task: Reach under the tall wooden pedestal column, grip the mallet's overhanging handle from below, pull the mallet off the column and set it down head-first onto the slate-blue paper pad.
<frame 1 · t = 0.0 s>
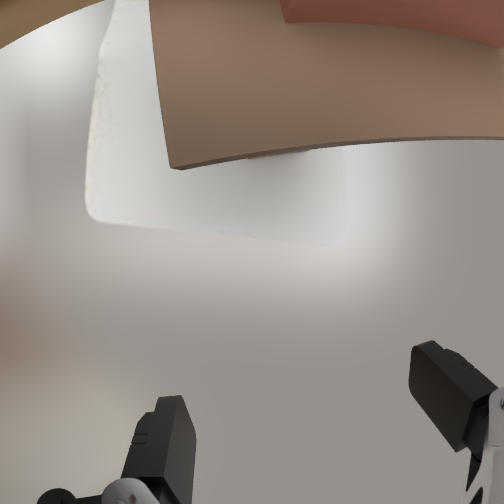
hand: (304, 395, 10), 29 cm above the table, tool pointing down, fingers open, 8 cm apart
wooden pedestal column: (246, 125, 35), on the table
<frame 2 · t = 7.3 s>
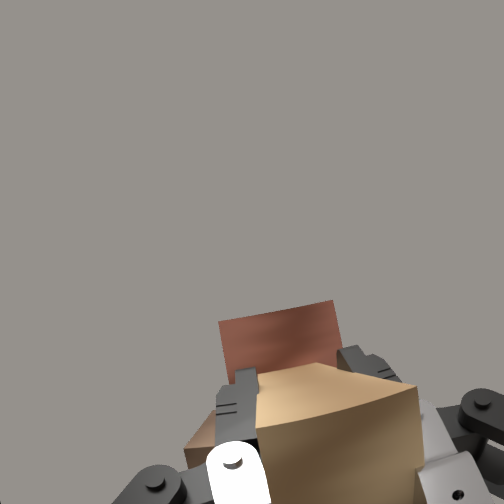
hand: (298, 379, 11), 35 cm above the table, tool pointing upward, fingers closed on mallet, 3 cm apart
mallet: (291, 412, 17), point 32 cm above the table, touching gripper, wooden pedestal column
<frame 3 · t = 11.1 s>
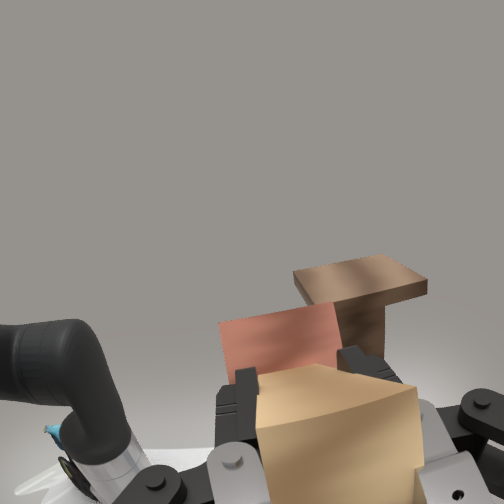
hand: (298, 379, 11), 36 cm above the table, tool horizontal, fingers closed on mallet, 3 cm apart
figurine: (96, 484, 39), on the table
wooden pedestal column: (356, 474, 38), on the table
mallet: (291, 412, 17), point 30 cm above the table, tilted 30°, touching gripper
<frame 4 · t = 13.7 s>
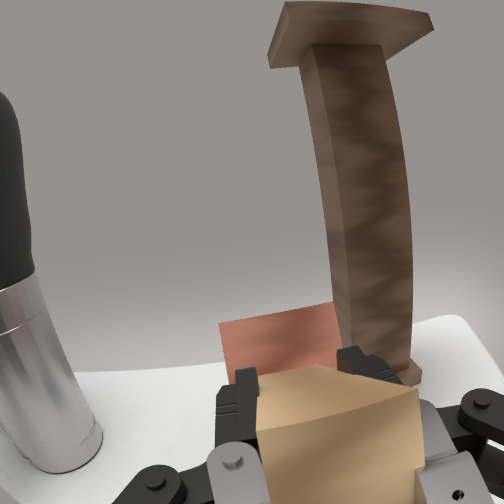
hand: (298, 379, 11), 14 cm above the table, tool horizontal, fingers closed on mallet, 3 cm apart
wooden pedestal column: (382, 392, 27), on the table
mallet: (292, 413, 17), point 7 cm above the table, tilted 30°, touching gripper
when the fingers open (9 cm above the table, at t = 15.8 s): mallet drops 3 cm, resting on pad.
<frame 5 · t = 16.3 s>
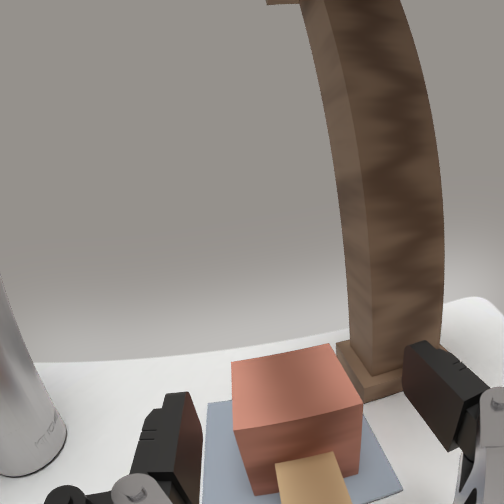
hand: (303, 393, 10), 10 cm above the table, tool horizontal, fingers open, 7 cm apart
wooden pedestal column: (408, 384, 21), on the table
pad: (288, 447, 18), on the table
mallet: (298, 452, 17), resting on pad
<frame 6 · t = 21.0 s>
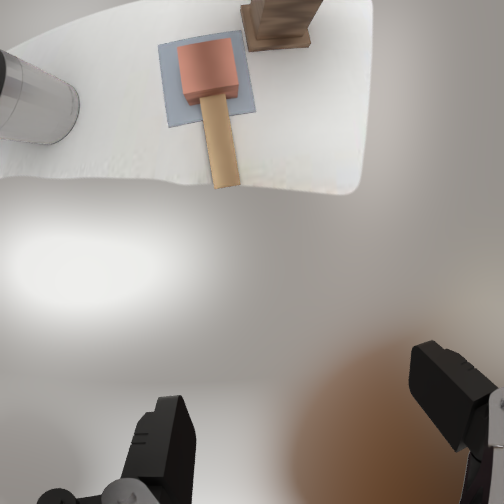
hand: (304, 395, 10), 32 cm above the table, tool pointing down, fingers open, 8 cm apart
wooden pedestal column: (278, 45, 36), on the table
pad: (205, 75, 36), on the table
mallet: (210, 80, 36), resting on pad
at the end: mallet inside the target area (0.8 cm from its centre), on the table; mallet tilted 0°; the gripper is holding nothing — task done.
